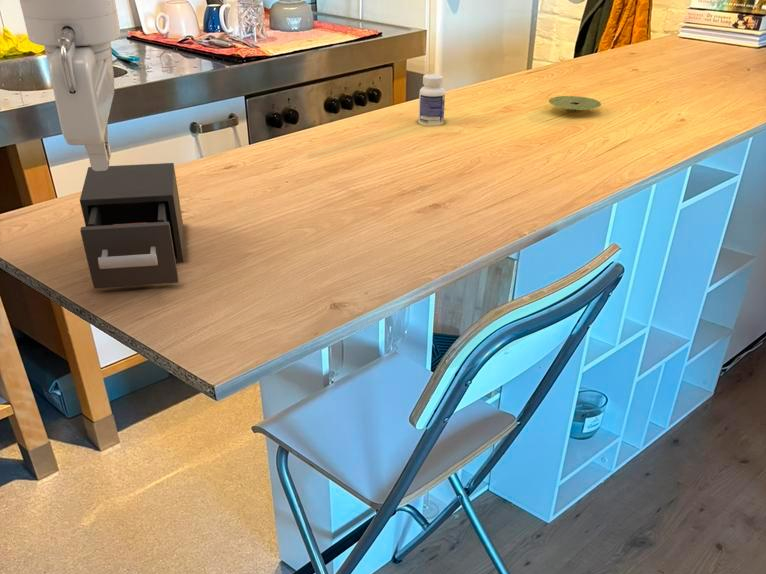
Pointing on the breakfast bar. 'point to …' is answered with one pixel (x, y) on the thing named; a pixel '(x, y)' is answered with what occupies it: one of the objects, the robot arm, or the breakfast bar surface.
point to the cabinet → (136, 193)
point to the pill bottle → (431, 101)
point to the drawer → (130, 245)
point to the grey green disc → (574, 103)
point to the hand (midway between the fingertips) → (102, 164)
